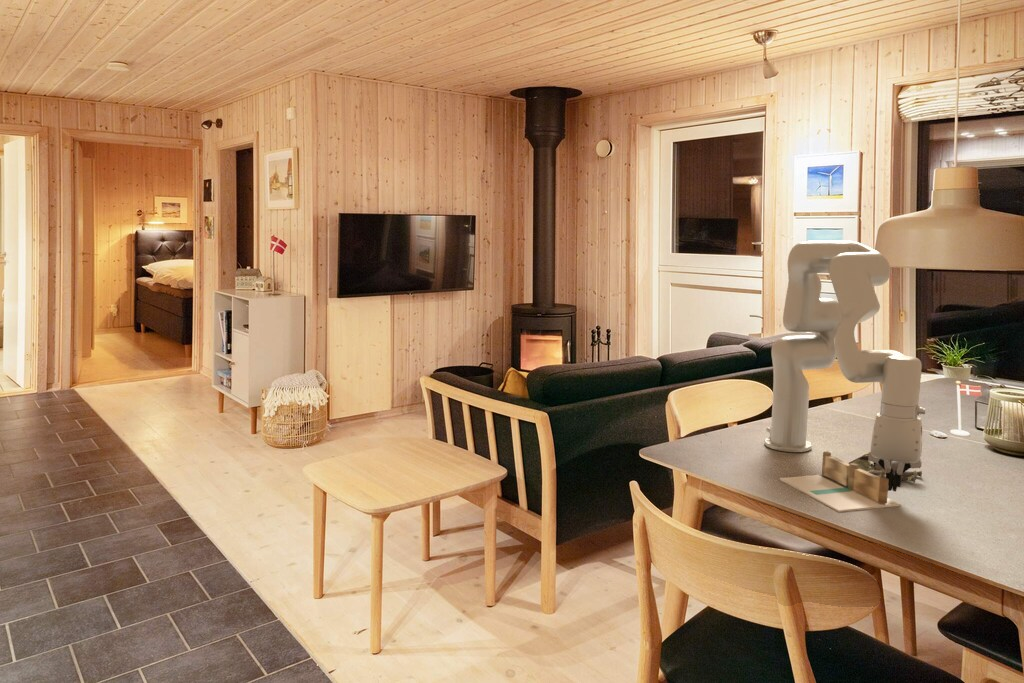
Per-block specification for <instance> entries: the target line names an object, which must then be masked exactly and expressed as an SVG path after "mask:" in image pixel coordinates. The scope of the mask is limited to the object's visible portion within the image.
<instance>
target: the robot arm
mask: <svg viewBox="0 0 1024 683" xmlns="http://www.w3.org/2000/svg"><path fill="white" fill-rule="evenodd" d="M787 274H788V284H787V289H786V290H787V291H786V294H785V295H786V296H785V300H784V308H783V315H782V324H783V327H784V329H785V330H786V331H788V332H791V333H796V334H797V333H802V334H804V333H805V334H808V333H809V334H811V333H812V334H813V333H814V335H787V336H783V337H780V338H777V339H776V340H775V341H774V342H773V344H772V346H771V350H770V351H771V360H772V361H771V362H772V368H773V370H772V371H773V382H772V384H773V385H772V386H773V387H772V391H773V392H772V408H771V421H770V423H771V424H770V425H771V426H770V427H769V426H768V427H767V428H765V429H766V432H767V433H769V437H767V438H765V439H764V446H766V447H767V448H770V449H772V450H775V451H781V452H785V453H786V452H788V453H804V452H808V451H811V450H812V447H813V445H812V443H811V442H810V441H808V440H807V435H808V434H807V433H808V418H809V417H808V416H809V403H810V402H809V400H810V399H809V398H810V384H809V381H808V379H807V378H806V376H805V375H804V373H803V371H806V370H807V371H808V370H824V369H829V368H830V367H832V366H833V365H834V364H835V361H837V363H838V366H839V369H840V371H841V373H842V376H844V378H846V380H847V381H849V382H851V383H856V384H865V383H866V384H867V383H882V384H881V395H880V397H881V398H880V408H879V409H880V410H879V412H877V413H876V416H875V419H874V423H873V428H872V434H871V440H870V452H871V453H870V456H869V461H870V462H871V463H873V462H874V463H878V464H879V465H880V466H881V467H882V468H883V469H884V470H885V472H886V478H887V479H889V483H888V491H890V492H891V491H893V492H897V489H898V488H901V483H902V480H901V474H902V473H904V472H906V471H909V470H910V469H921V468H922V464H921V462H922V459H921V457H922V451H923V450H922V448H923V422H922V418H921V417H920V415H926V408H924V407H921V406H919V403H920V392H921V391H920V389H921V379H922V377H921V376H922V367H923V366H922V361H921V360H920V358H918V357H915V356H912V355H905V354H903V353H901V352H900V351H897V350H894V349H861V350H860V349H859V347H858V344H857V342H856V337H855V330H856V327H857V325H858V324H860V323H863V322H864V321H865V322H866V321H867V320H869V319H871V318H873V317H874V316H876V315H877V313H878V312H879V311H880V308H881V306H880V302H879V299H878V297H877V293H876V291H875V288H874V287H879V286H883V285H885V284H886V283H887V282H888V281H889V279H890V278H891V277H890V276H891V266H890V262H889V260H888V259H887V258H886V256H885V255H884V254H883V253H881V252H880V251H878V250H876V249H874V248H872V247H869V246H867V245H865V244H862V243H860V242H859V241H854V240H853V241H852V240H807V241H805V240H804V241H802V242H798V243H796V244H795V245H794V246H792V248H791V249H790V251H789V254H788V258H787ZM819 274H828V276H829V278H830V282H831V283H832V284H831V285H832V288H833V290H834V293H835V297H836V299H837V300H836V299H834V298H829V297H821V291H822V281H821V279H820V276H819ZM836 359H837V360H836ZM891 460H892V461H899V464H898V468H897V469H896V470H895V472H894V471H893V468H892V465H891ZM905 462H906V463H905ZM893 477H894V478H893Z"/></svg>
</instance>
